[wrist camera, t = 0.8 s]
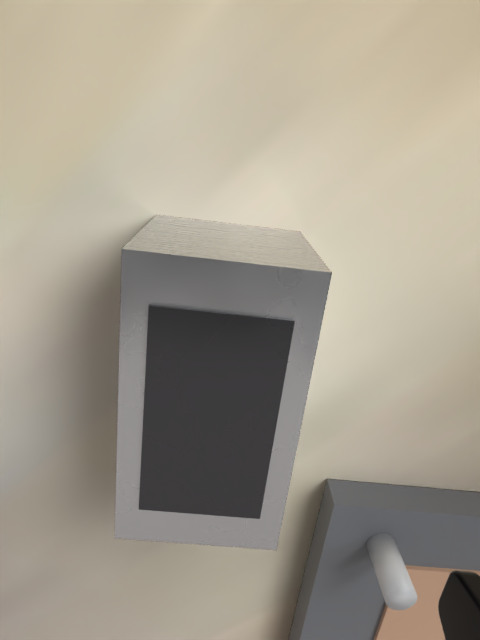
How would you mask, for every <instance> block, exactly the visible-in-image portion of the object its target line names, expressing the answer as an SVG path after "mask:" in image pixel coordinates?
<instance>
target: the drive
mask: <svg viewBox="0 0 480 640" xmlns="http://www.w3.org/2000/svg"><path fill="white" fill-rule="evenodd" d="M331 275H332V272H331V271H330V269H329V268H328V267H327V266H326V264H325V263H324V262H323V260H322V259H321V258H320V256H319V255H318V254H317V253H316V251H315V250H314V249H313V247H312V246H311V245H310V244H309V242H308V241H307V240H306V238H305V237H304V236H303V234H302V233H301V232H300V231H292V230H284V229H276V228H267V227H259V226H250V225H242V224H233V223H225V222H216V221H208V220H199V219H191V218H182V217H174V216H165V215H156V216H155V217H154V218H153V219H152V220H151V221H150V222H149V223H148V224H147V225H146V226H145V227H144V228H143V229H142V230H140V231H139V232H138V233H137V234H136V235H135V236H134V237H133V238H132V239H131V240H130V241H129V242H128V243H127V244H126V245H125V246H124V247H123V248H122V258H121V298H120V338H119V379H118V419H117V459H116V499H115V538H119V539H133V540H146V541H159V542H173V543H186V544H200V545H213V546H227V547H240V548H254V549H267V550H276V549H277V544H278V539H279V534H280V529H281V524H282V519H283V514H284V509H285V504H286V499H287V494H288V489H289V484H290V479H291V474H292V469H293V464H294V459H295V454H296V449H297V444H298V439H299V434H300V429H301V424H302V419H303V414H304V409H305V404H306V399H307V394H308V389H309V384H310V379H311V374H312V369H313V364H314V360H315V355H316V350H317V345H318V340H319V335H320V330H321V325H322V320H323V315H324V310H325V305H326V300H327V295H328V290H329V285H330V280H331Z"/></svg>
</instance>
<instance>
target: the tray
mask: <svg viewBox="0 0 480 640" xmlns="http://www.w3.org/2000/svg"><path fill="white" fill-rule="evenodd" d="M455 570H458V571H470V572H474V573H476V574H478V575H479V576H480V492H470V491H458V490H447V489H436V488H424V487H413V486H402V485H390V484H379V483H368V482H356V481H345V480H334V479H327V481H326V485H325V490H324V494H323V498H322V502H321V506H320V510H319V514H318V519H317V523H316V527H315V531H314V535H313V539H312V543H311V548H310V552H309V556H308V560H307V564H306V568H305V572H304V577H303V581H302V585H301V589H300V593H299V597H298V601H297V605H296V610H295V614H294V618H293V622H292V626H291V630H290V634H289V639H288V640H445V636H444V632H443V628H442V624H441V621H440V617H439V611H438V604H439V599H440V596H441V594H442V591H443V589H444V586H445V584H446V582H447V579H448V577H449V574H450V573H451V572H452V571H455Z"/></svg>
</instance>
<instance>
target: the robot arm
mask: <svg viewBox="0 0 480 640" xmlns="http://www.w3.org/2000/svg"><path fill="white" fill-rule="evenodd" d="M438 611H439V617H440V621H441V624H442V628H443V632H444V636H445V640H480V576H479V575H478V574H476V573H474V572H470V571H458V570H455V571H452V572H451V573H450V574H449V577H448V579H447V582H446V584H445V586H444V589H443V591H442V594H441V596H440V599H439V604H438Z"/></svg>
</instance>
